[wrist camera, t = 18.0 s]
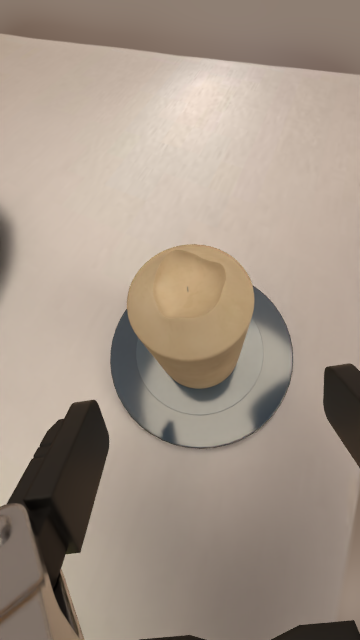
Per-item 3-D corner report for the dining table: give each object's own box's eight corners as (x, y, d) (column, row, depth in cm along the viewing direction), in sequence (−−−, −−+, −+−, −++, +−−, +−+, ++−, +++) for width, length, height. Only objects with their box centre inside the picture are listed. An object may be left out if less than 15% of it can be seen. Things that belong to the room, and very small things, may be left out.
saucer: (309, 306, 22) (315, 298, 21) (257, 482, 18) (260, 486, 17) (157, 259, 25) (154, 250, 24) (85, 402, 21) (76, 400, 20)
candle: (152, 326, 21) (104, 246, 12) (223, 304, 21) (229, 206, 12) (172, 400, 19) (132, 371, 10) (250, 375, 19) (284, 323, 10)
